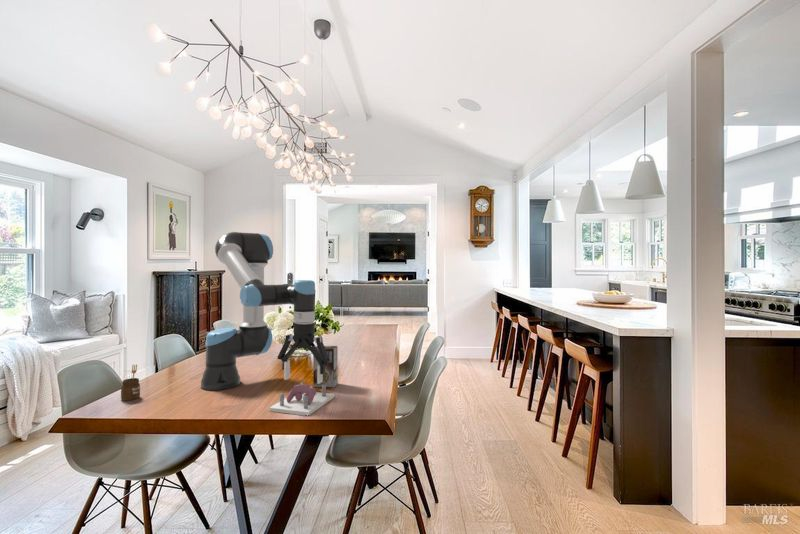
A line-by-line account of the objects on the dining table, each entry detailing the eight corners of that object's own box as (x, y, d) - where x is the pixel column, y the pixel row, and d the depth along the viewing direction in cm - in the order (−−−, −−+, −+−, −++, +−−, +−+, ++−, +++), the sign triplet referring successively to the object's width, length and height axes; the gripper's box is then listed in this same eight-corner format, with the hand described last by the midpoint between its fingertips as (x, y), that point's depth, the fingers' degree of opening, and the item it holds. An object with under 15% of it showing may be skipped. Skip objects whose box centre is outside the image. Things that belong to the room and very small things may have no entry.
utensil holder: (117, 401, 143) (117, 368, 143) (126, 396, 149) (126, 364, 149) (135, 400, 144) (135, 368, 144) (143, 395, 150) (143, 364, 151)
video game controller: (314, 406, 140) (319, 386, 143) (308, 404, 136) (313, 384, 139) (291, 403, 143) (296, 384, 146) (284, 401, 139) (289, 381, 142)
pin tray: (269, 411, 134) (269, 395, 134) (299, 393, 154) (299, 380, 154) (308, 415, 130) (308, 400, 130) (334, 397, 149) (334, 383, 149)
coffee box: (338, 383, 168) (338, 345, 168) (334, 387, 161) (334, 348, 161) (317, 382, 168) (317, 345, 169) (312, 387, 162) (312, 348, 162)
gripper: (268, 321, 142) (267, 380, 142) (330, 326, 135) (329, 387, 135) (280, 319, 149) (279, 374, 149) (339, 323, 142) (338, 381, 142)
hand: (303, 380), depth 142 cm, fingers open, 13 cm apart
